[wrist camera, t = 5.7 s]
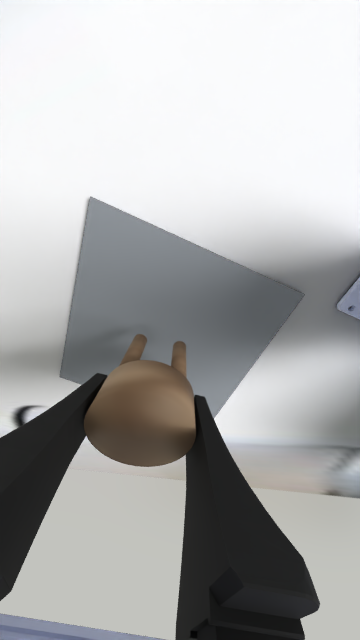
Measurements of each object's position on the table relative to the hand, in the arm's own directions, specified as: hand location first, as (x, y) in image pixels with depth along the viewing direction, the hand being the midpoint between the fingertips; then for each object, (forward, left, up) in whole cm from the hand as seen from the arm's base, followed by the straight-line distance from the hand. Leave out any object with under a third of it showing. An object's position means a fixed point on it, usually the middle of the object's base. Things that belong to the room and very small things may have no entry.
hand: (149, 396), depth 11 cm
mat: (0, 0, -7) cm, 7 cm away
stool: (0, 0, -3) cm, 3 cm away
